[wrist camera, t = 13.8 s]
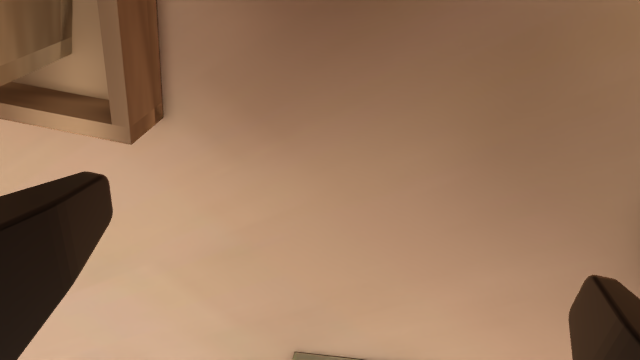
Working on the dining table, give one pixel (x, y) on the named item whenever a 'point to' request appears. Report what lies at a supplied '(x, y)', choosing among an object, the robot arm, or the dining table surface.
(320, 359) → the grey-green crate
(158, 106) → the crate
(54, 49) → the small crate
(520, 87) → the dining table surface
